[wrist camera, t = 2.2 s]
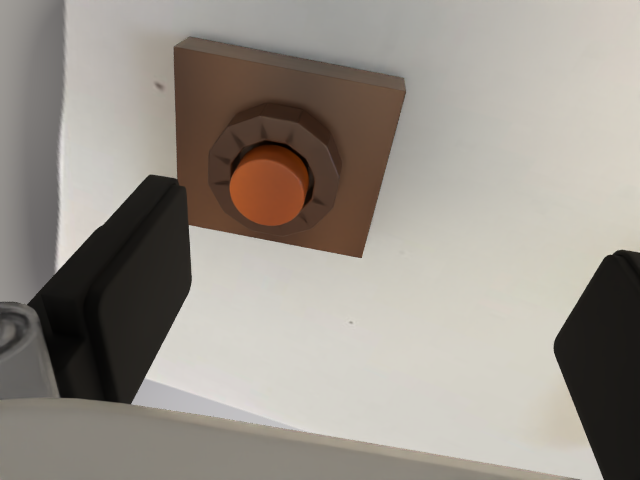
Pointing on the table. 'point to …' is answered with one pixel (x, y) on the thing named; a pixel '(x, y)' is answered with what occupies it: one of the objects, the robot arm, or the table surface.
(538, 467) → the table surface
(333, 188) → the button block
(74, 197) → the table surface
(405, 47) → the table surface
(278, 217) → the button
